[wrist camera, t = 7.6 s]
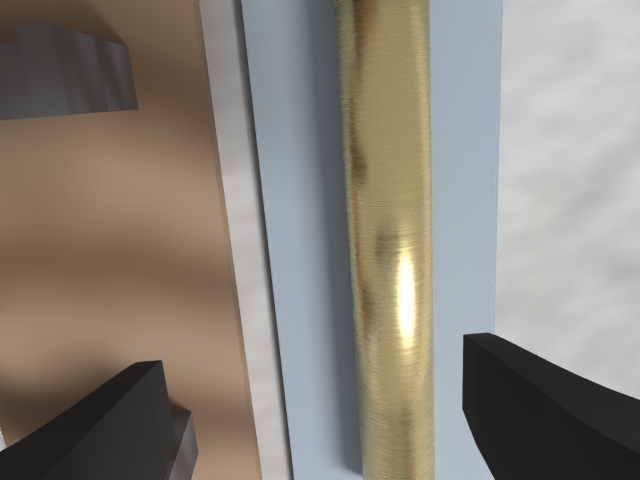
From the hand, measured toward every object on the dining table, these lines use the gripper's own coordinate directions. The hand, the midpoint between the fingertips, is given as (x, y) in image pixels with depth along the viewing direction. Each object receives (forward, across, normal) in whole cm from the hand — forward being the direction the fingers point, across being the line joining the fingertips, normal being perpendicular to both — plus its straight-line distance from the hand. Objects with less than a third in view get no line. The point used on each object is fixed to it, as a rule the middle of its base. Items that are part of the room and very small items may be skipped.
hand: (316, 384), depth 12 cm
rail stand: (+8, +8, -1) cm, 12 cm away
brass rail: (+7, -3, -1) cm, 7 cm away
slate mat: (+8, -3, -1) cm, 9 cm away
